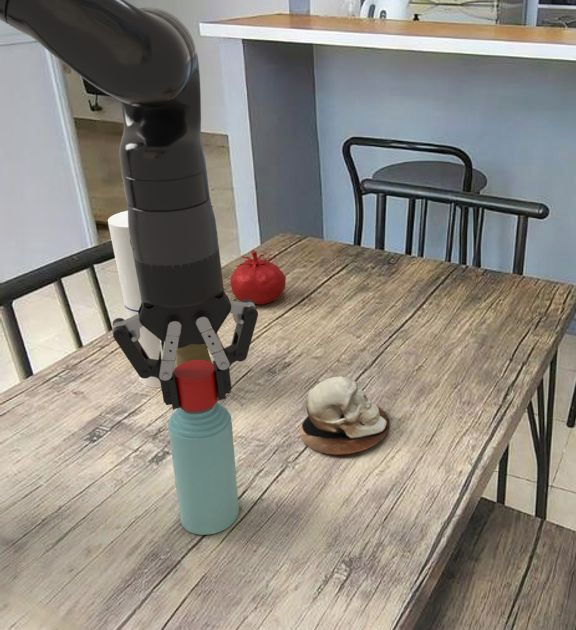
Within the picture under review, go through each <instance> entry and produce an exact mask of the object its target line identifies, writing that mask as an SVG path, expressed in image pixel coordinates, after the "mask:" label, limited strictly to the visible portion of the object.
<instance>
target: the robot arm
mask: <svg viewBox="0 0 576 630" xmlns="http://www.w3.org/2000/svg"><path fill="white" fill-rule="evenodd" d="M0 21H1V22H3V23H5V24H6V25H8V26H9V27H12V28H13V29H15V30H17V31H19V32H21V33H23V34H24V35H27V36H29V37H30V38H32V39H33V40H35V41H36V42H38V43H39V44H40V45H41V46H42V47H43V48H44V49H46V50H47V51H48V52H49V53H50V54H51V55H52V56H54V57H55V58H56V59H58V60H59V61H60V62H62V63H63V64H64V65H65V66H67V67H68V68H69V69H70V70H72V71H73V72H74V73H76V74H77V75H78V76H80V77H81V78H82V79H83V80H85V81H86V82H88V83H89V84H90V85H92V86H93V87H95V88H96V89H98V90H99V91H101V92H103V93H104V94H106V95H108V96H110V97H112V98H113V99H116V100H117V101H119V102H120V105H121V114H122V121H123V133H122V136H121V140H120V143H119V155H118V156H119V164H120V165H119V166H120V172H121V179H122V183H123V184H122V185H123V189H124V194H125V200H126V207H127V211H128V228H129V235H130V244H131V247H132V251H133V257H134V262H135V268H136V273H137V279H138V284H139V290H140V295H141V301H142V302H141V306H140V308H139V311H138V314H137V315H135V316H133V317H130V318H128V319H127V318H126V319H124V318H123V317H116V318H115V319H113V321H112V337H113V339H114V341H115V342H116V344H117V345H118V346H119V348H120V350H121V351H122V352H123V354H124V355H125V357H126V359H127V360H128V361H129V363H130V365H131V366H132V367H133V369H134V371H135V372H136V373H137V375H138V377H139V376H140V377H141V378H144V379H145V378H149V377H156V378H158V379H159V380H160V383H161V388H160V390H161V393H162V399H163V403H164V404H165V405H166V406H170V405H171V407H172V410H177V409H178V408H180V406H179V400H178V394H177V388H176V382H175V377H174V371H173V368H174V362H175V360H176V355H177V348H183V347H185V346H188V345H190V344H198V345H201V344H206V345H207V347H208V348H207V349H208V352H209V354H210V355H211V356H212V358H213V361H212V364H213V365H214V368H215V375H216V384H217V394H218V400H219V401H224V400H227V395H228V394H231V392H232V380H231V372H230V369H231V366H232V365H233V364H234V363H236V362H241V363H242V362H244V361H246V360H247V357H248V354H249V350H250V348H251V347H250V346H251V343H252V340H253V336H254V332H255V329H256V325H257V321H258V317H259V311H258V310H257V307H256V304H254V303H253V301H252V300H250V299H246V300H244V301H236V300H230V297H229V296H228V295H227V294H226V292H225V289H224V279H223V271H222V263H221V254H220V245H219V238H218V229H217V221H216V216H215V213H214V209H213V206H212V201H211V196H210V187H209V186H210V185H209V177H208V170H207V163H206V156H205V151H204V147H203V140H202V99H201V97H202V95H201V94H202V93H201V92H202V91H201V75H200V73H201V72H200V63H199V56H198V55H199V54H198V50H197V46H196V43H195V40H194V37H193V36H192V34H191V33H190V31H189V29H188V27H187V26H186V25H185V24H184V23H183V22H182V21H181V20H180V19H179V18H177V17H176V16H175V15H174V14H173V13H170V12H168V11H167V10H165V9H162V8H157V7H153V6H151V7H150V6H143V7H138V6H135V5H134V4H132V3H130V2H128V1H127V0H0ZM229 314H232V318H233V321H234V323H235V329H234V331H233V335H232V336H233V337H232V340H231V343H230V344H229V345H228V346H226V347H225V346H224V344H223V342H222V341H221V338H220V336H219V334H218V332H219V330H220V329H221V327H222V325H223V324H224V322H225V321H226V319H227V317H228V316H229ZM142 326H144V327H145V328H146V329H147V330H149V331H150V332H151V333H152V334H154V335H155V336H156V337H157V338H159V339H160V349H159V356H158V360H157V359H150V358H149V357H148V355H147V354H146V352H145V350H144V349H143V347H142V346H141V344H140V343H139V341H138V340H139V338H140V330H139V329H140V328H141V327H142Z"/></svg>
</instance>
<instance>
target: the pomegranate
mask: <svg viewBox="0 0 576 630" xmlns="http://www.w3.org/2000/svg"><path fill="white" fill-rule="evenodd" d="M250 254H251V256H252V258H251V257H250V256H246V255H245V256H244V255H242V256H241V258H242V259H245V260H244V261H243V262H242V263H240V264H238V265H235V267H236V268H235V269H234V271H233V272H232V274H231V275H230V287H231V291H232V294H233V295H234V297H235V298H237V300H238V301H240V302H243V301H244V300H246V299H250V300H252V301H253V303H254V305H265V304H269V303H271V302H274V301H276V300H278V299H279V298H280V297H281V296H282V294H283V293H284V290H285V286H286V283H287V281H286V280H287V277H286V275H285V274H284V272H283V271H282V269H280V267H279V266H278V265H276V264H275V263H273V262H271V261H270V260H269V259H271V260H272V259H274V260H275V259H278V258H277V257H267V258H264V259H262V258H261V257H265V254H262V253H260V254H259V256H258V252H257V251H256V250H251V251H250Z"/></svg>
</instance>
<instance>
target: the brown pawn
mask: <svg viewBox="0 0 576 630" xmlns="http://www.w3.org/2000/svg"><path fill="white" fill-rule="evenodd" d="M210 355H211V354H210V351H209V349H208V347H207V345H206V344H201V345H198V344H190V345H188V346H185V347H183V348H177V366H178V365H180V364H182V363H184V362H187V361H192V360H205V361H208V362H211V363H212V364H213V361H212V359H211V356H210ZM217 395H218V394H217Z"/></svg>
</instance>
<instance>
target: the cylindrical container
mask: <svg viewBox="0 0 576 630" xmlns="http://www.w3.org/2000/svg"><path fill="white" fill-rule="evenodd" d="M107 224H108V229H109V235H110V239H111V244H112V250H113V255H114V260H115V264H116V270H117V273H118V280H119V285H120V289H121V294H122V299H123V304H124V310H125V315H126V319H128V318H130V317H133V316H135V315H137V314H138V311H139V308H140V306H141V302H142V301H141V295H140V290H139V284H138V279H137V273H136V268H135V262H134V257H133V251H132V247H131V244H130V235H129V228H128V210H124V211H120V212H117V213H115V214H113V215H111V216H110V217H109V218H107ZM139 330H140V338H139V340H138V341H139V343H140V344H141V346H142V347H143V349H144V350H145V352H146V354H147V355H148V357H149V358H150V359H157V360H158V356H159V349H160V339H159V338H157V337H156V336H155V335H154V334H152V333H151V332H150V331H149V330H147V329H146V328H145V327H144V326H142V327H141V328H140V329H139ZM176 367H177V355H176V360H175V362H174V368H173V371H174V370H175V368H176ZM138 378H139V382H140V383H141V384H142V385H143V386H145V387H148V388H154V389H155V388H156V389H157V388H160V389H161V383H160V380H159V379H158V378H156V377H149V378H145V379H144V378H141V377H140V376H139V375H138Z"/></svg>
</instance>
